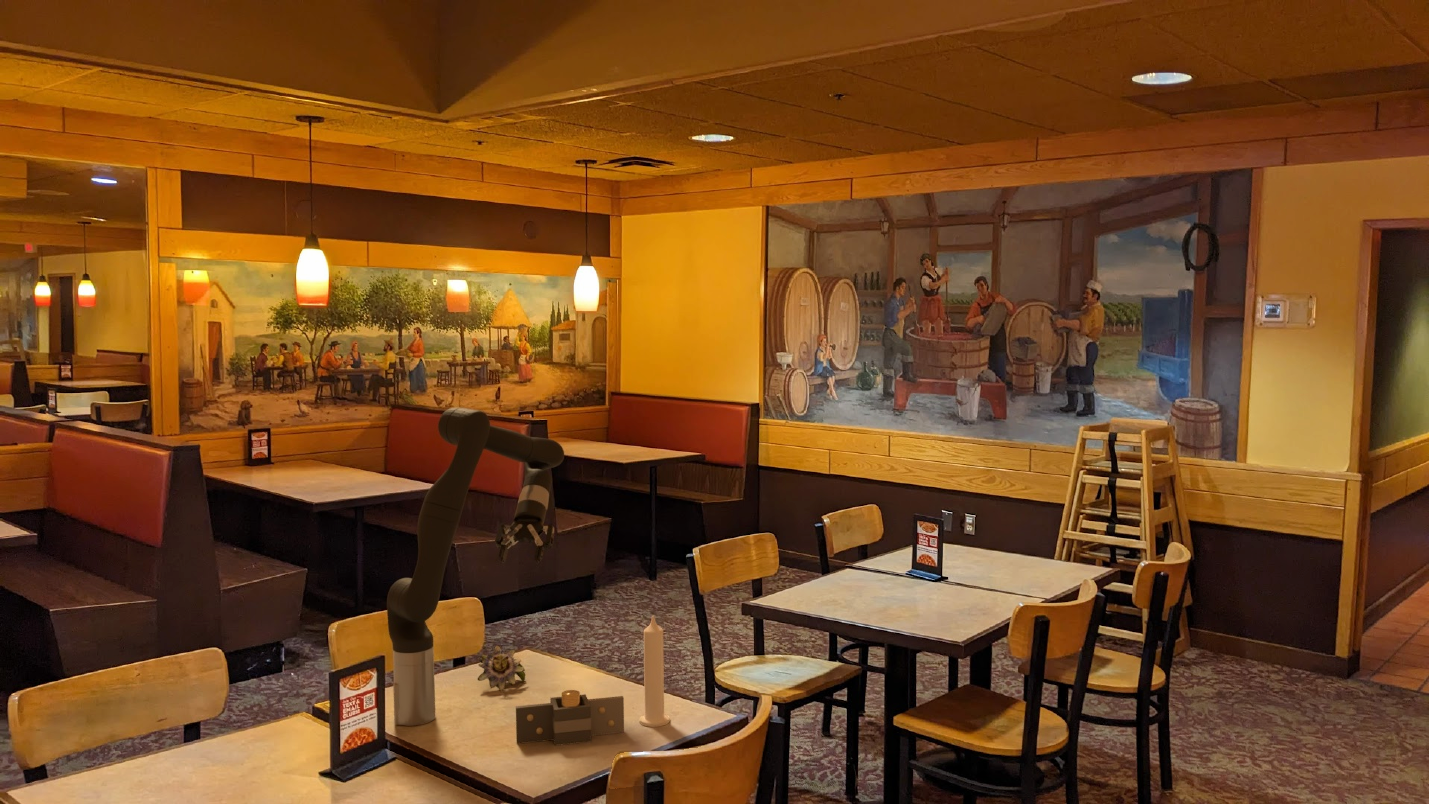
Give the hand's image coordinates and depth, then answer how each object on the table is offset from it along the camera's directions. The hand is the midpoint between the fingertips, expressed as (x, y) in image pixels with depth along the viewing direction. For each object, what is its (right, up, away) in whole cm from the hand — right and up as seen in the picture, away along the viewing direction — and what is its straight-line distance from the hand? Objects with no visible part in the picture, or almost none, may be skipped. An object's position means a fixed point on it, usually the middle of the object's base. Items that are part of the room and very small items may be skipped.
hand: (519, 561), depth 262 cm
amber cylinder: (+16, -36, -22) cm, 45 cm away
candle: (+34, -36, -13) cm, 51 cm away
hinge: (+16, -36, -22) cm, 45 cm away
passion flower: (-7, -34, +13) cm, 37 cm away
